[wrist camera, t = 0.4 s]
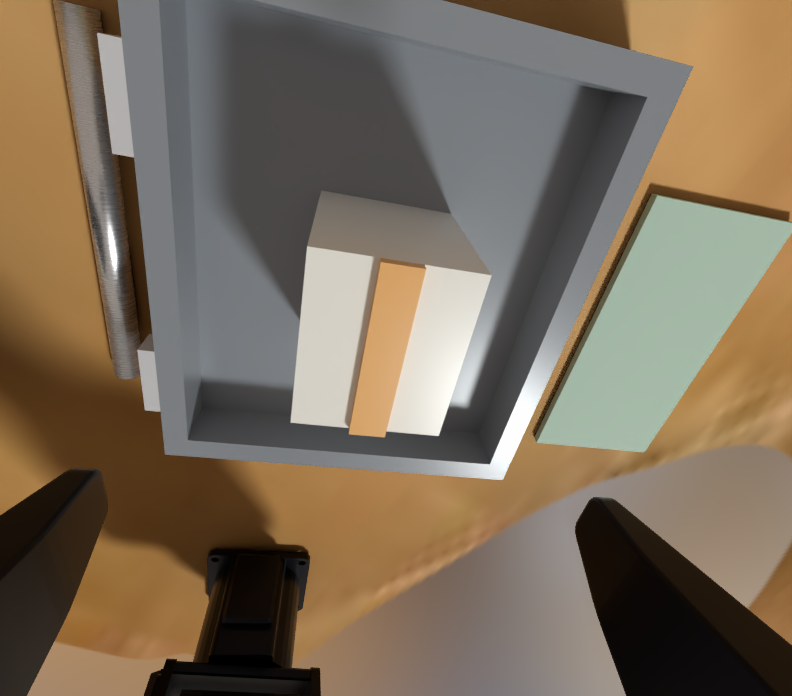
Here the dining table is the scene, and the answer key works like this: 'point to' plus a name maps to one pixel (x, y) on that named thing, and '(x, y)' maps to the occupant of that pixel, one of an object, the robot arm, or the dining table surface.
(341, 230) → the block
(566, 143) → the grey flat square tray
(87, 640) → the dining table surface
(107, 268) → the stay rod
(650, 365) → the pad
